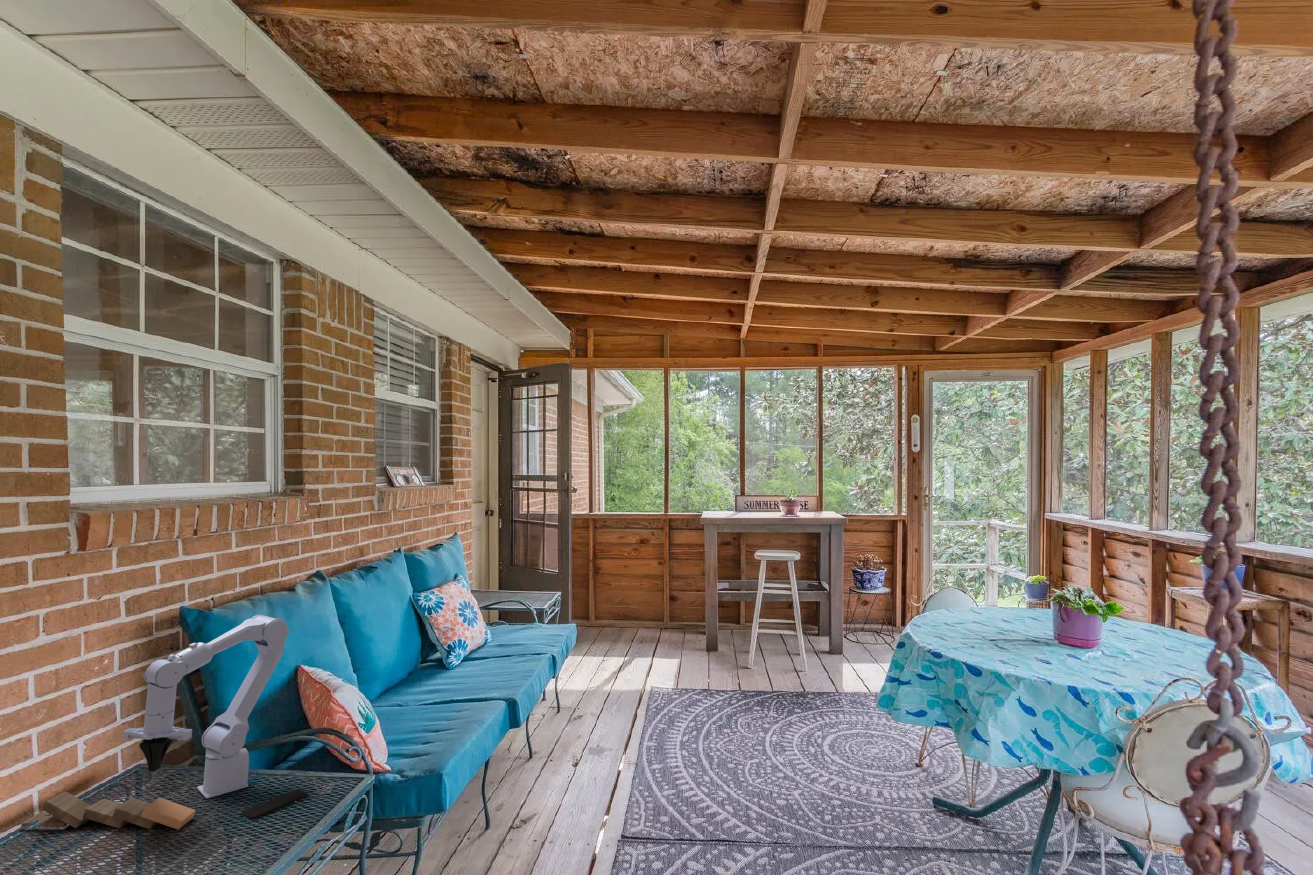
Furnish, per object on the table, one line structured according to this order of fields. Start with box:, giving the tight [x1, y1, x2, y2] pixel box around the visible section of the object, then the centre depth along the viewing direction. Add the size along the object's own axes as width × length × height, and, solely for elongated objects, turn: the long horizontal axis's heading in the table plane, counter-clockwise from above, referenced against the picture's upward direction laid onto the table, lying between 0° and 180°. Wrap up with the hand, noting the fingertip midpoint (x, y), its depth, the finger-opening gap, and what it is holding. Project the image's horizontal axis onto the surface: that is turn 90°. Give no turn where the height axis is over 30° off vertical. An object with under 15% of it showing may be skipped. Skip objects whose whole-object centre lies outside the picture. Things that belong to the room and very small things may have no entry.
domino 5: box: [141, 797, 196, 830], centre depth 152 cm, size 2×5×9 cm
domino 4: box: [112, 797, 159, 830], centre depth 152 cm, size 2×5×9 cm
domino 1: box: [20, 811, 67, 829], centre depth 150 cm, size 2×5×9 cm
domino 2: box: [41, 790, 91, 829], centre depth 151 cm, size 2×5×9 cm
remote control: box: [240, 788, 309, 820], centre depth 162 cm, size 5×2×15 cm
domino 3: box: [83, 798, 129, 829], centre depth 152 cm, size 2×5×9 cm
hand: (154, 769), depth 157 cm, fingers closed
